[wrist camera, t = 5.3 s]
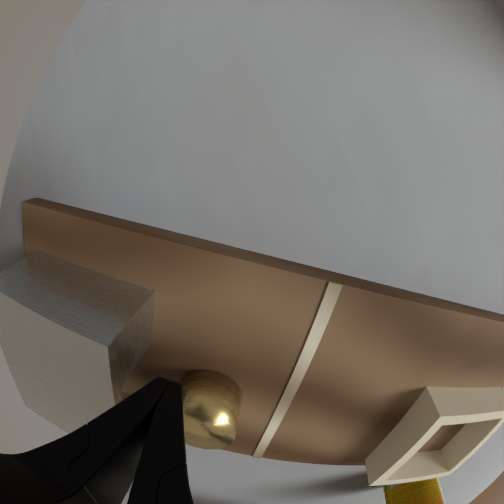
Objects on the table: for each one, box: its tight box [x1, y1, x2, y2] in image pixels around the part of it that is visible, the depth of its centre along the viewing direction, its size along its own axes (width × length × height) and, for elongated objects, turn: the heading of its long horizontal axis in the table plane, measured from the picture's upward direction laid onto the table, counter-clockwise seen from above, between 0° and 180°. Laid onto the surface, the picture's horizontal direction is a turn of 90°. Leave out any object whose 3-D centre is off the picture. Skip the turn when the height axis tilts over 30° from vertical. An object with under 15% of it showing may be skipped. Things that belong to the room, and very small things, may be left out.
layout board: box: [23, 198, 504, 465], centre depth 14 cm, size 14×33×1 cm, turn 77°
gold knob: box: [180, 369, 243, 449], centre depth 13 cm, size 4×4×3 cm
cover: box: [0, 251, 155, 433], centre depth 12 cm, size 9×8×4 cm
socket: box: [365, 387, 504, 486], centre depth 13 cm, size 8×8×2 cm
